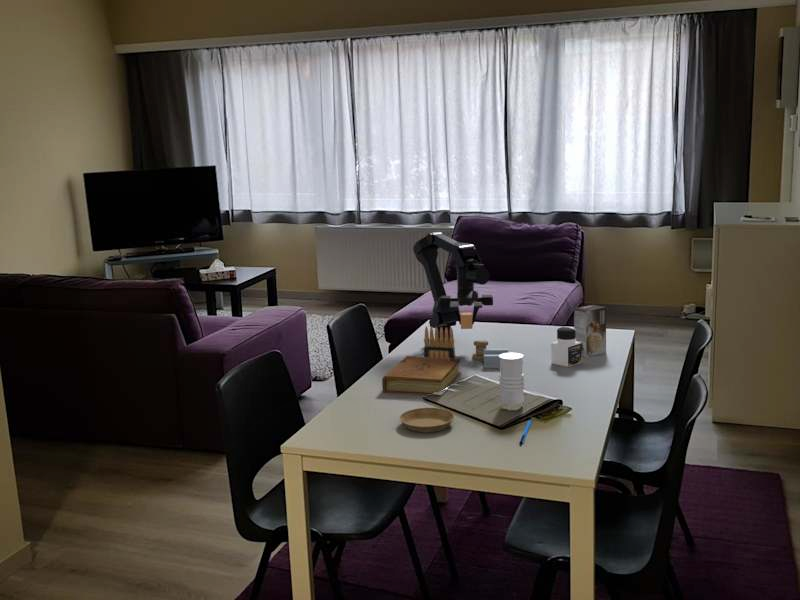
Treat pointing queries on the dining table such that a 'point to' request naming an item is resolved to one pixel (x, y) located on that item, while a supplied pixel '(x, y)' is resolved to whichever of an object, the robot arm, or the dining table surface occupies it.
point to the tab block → (466, 320)
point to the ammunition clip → (445, 344)
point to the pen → (525, 432)
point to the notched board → (493, 357)
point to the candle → (511, 378)
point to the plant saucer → (426, 419)
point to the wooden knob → (479, 349)
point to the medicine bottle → (566, 348)
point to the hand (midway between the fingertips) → (466, 324)
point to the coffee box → (591, 329)
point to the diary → (421, 375)
